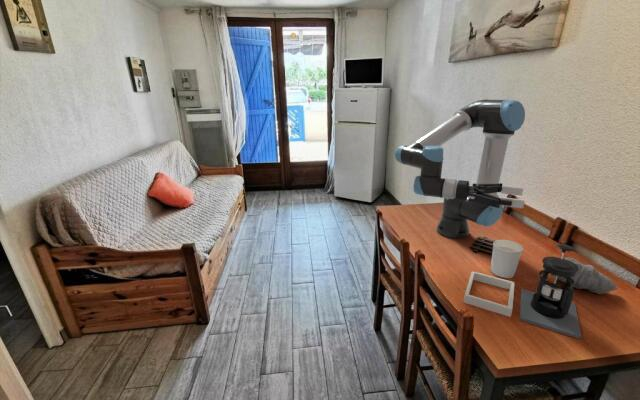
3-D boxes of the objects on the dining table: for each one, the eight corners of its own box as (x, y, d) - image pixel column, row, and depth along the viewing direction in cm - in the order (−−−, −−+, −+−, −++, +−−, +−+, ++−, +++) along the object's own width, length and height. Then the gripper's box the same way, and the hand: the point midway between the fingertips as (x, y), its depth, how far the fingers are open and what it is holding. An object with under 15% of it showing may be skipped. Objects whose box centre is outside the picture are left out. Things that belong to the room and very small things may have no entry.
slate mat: (519, 320, 96) (520, 317, 95) (521, 291, 109) (521, 289, 109) (580, 339, 88) (581, 336, 88) (573, 305, 101) (574, 303, 101)
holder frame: (463, 302, 104) (464, 295, 103) (470, 277, 118) (472, 271, 117) (510, 317, 97) (512, 309, 96) (512, 289, 110) (514, 282, 109)
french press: (522, 298, 104) (537, 238, 96) (550, 297, 104) (567, 237, 96) (546, 323, 93) (565, 257, 85) (577, 322, 93) (599, 256, 85)
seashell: (617, 295, 106) (626, 270, 103) (587, 303, 102) (595, 278, 99) (570, 270, 121) (576, 248, 117) (542, 277, 117) (548, 254, 113)
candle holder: (513, 267, 123) (519, 241, 119) (519, 281, 115) (526, 253, 111) (486, 263, 127) (491, 238, 122) (490, 276, 118) (496, 249, 114)
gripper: (459, 189, 125) (520, 196, 115) (449, 210, 105) (522, 221, 95) (462, 172, 123) (524, 177, 112) (452, 189, 103) (526, 198, 92)
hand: (523, 197), depth 104 cm, fingers open, 13 cm apart
